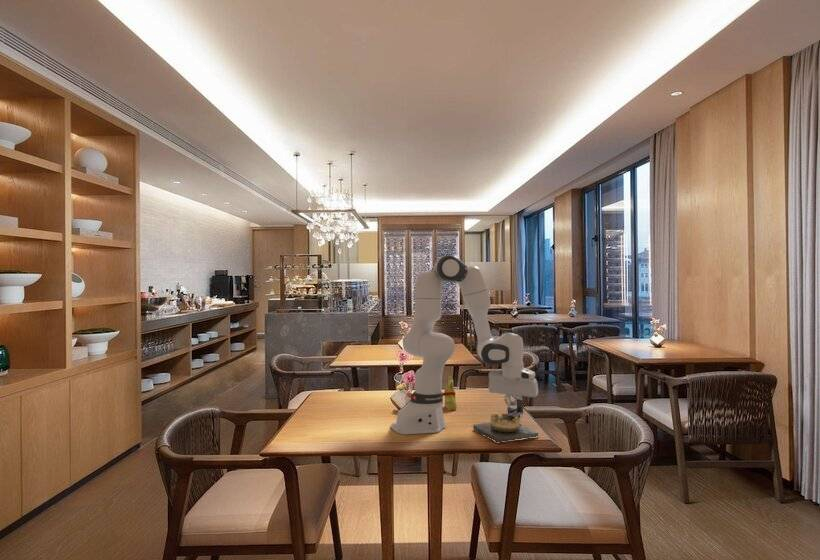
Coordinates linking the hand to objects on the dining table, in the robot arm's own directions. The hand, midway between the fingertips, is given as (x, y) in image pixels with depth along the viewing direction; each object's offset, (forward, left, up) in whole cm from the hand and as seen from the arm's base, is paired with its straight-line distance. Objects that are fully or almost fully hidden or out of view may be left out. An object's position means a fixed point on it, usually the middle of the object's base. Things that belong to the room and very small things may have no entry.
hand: (513, 405), depth 197 cm
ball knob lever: (-6, -6, -6) cm, 10 cm away
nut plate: (-9, -8, -8) cm, 15 cm away
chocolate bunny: (-13, +34, -9) cm, 38 cm away
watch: (+9, +12, -9) cm, 17 cm away
